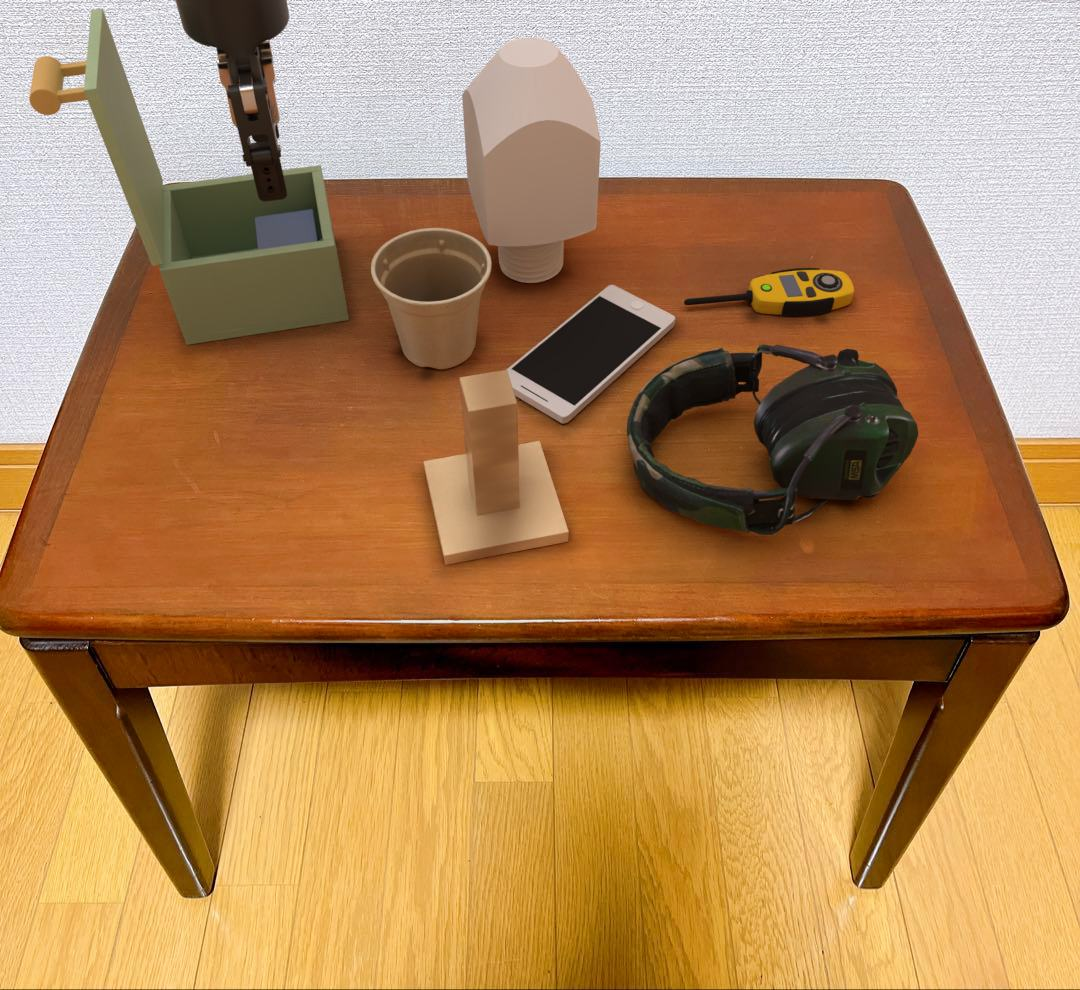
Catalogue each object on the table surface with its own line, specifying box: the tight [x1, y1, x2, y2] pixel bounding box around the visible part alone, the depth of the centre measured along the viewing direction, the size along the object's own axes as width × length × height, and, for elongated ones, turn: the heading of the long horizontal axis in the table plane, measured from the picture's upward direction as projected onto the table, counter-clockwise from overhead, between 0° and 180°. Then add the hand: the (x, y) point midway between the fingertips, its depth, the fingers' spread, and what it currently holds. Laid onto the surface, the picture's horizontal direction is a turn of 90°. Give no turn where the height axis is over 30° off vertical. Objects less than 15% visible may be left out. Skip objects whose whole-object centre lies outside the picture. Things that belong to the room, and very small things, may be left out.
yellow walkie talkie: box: [683, 267, 855, 318], centre depth 89 cm, size 5×2×15 cm
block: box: [255, 209, 319, 250], centre depth 88 cm, size 5×5×5 cm
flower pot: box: [370, 227, 492, 370], centre depth 82 cm, size 9×9×9 cm
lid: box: [28, 8, 164, 267], centre depth 77 cm, size 15×12×6 cm
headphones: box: [626, 343, 919, 536], centre depth 74 cm, size 13×13×20 cm
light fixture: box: [461, 37, 602, 284], centre depth 85 cm, size 9×9×20 cm
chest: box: [159, 164, 350, 346], centre depth 87 cm, size 14×12×8 cm
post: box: [423, 369, 570, 566], centre depth 70 cm, size 9×9×12 cm
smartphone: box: [506, 284, 676, 424], centre depth 85 cm, size 7×15×1 cm, turn 140°
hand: (270, 167), depth 82 cm, fingers open, 8 cm apart
